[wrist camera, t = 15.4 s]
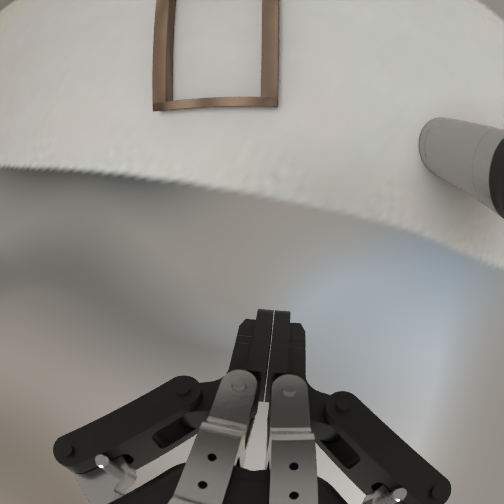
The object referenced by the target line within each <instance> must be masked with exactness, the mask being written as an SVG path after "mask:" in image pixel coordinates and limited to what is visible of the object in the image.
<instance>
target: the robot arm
mask: <svg viewBox="0 0 504 504" xmlns="http://www.w3.org/2000/svg"><path fill="white" fill-rule="evenodd" d="M419 149H420V155H421V158H422V160H423V162H424V164H425V166H426V167H427V168H428V169H429V170H430V171H431V172H432V173H434V174H436V175H438V176H439V177H441V178H443V179H444V180H446V181H448V182H449V183H451V184H453V185H454V186H456V187H458V188H459V189H461V190H463V191H464V192H466V193H467V194H469V195H471V196H472V197H474V198H475V199H477V200H478V201H480V202H481V203H483V204H484V205H486V206H487V207H489V208H490V209H491V210H493V211H494V212H496V213H497V214H498V215H500V216H501V217H502V218H504V130H503V129H498V128H494V127H490V126H485V125H480V124H476V123H470V122H465V121H459V120H454V119H447V118H436V119H433V120H431V121H430V122H428V123H427V124H426V125H425V127H424V128H423V130H422V133H421V135H420V140H419ZM272 323H273V310H264V309H263V310H262V309H258V312H257V318H256V320H251V319H245V320H244V322H243V323H242V324H241V325H240V326H239V330H238V334H237V338H236V343H235V346H234V350H233V354H232V359H231V362H230V367H229V370H228V372H227V374H226V375H225V376H223V377H222V378H221V379H219V380H216V381H212V382H204V383H199V382H198V381H197V380H196V379H194V378H193V377H190V376H178V377H175V378H173V379H171V380H170V381H168V382H166V383H164V384H163V385H161V386H160V387H157V388H156V389H154V390H152V391H150V392H149V393H147V394H145V395H143V396H141V397H139V398H138V399H136V400H134V401H132V402H130V403H128V404H127V405H125V406H123V407H121V408H119V409H117V410H115V411H113V412H111V413H110V414H107V415H105V416H103V417H102V418H100V419H97V420H95V421H93V422H91V423H89V424H87V425H85V426H83V427H81V428H79V429H77V430H75V431H72V432H70V433H68V434H66V435H64V436H62V437H60V438H58V439H57V440H56V442H55V444H54V447H53V453H54V456H55V458H56V460H57V461H58V462H59V463H60V464H62V465H63V466H65V467H66V468H68V469H69V470H70V471H71V472H72V473H73V474H74V476H75V478H76V479H77V481H78V483H79V485H80V487H81V489H82V490H83V492H84V494H85V496H86V497H87V499H88V501H89V502H90V504H348V503H347V502H346V501H345V500H344V499H343V498H342V497H341V496H340V494H339V493H338V492H337V491H336V490H335V489H334V488H333V487H332V486H331V485H330V484H329V483H328V482H326V481H325V480H323V479H322V478H319V477H318V476H317V465H316V447H315V442H316V443H317V444H318V446H319V447H320V448H321V449H322V450H323V451H324V452H325V453H326V454H327V455H328V457H329V458H330V459H331V460H332V461H333V462H334V463H335V464H336V465H337V466H338V467H339V468H340V469H341V470H342V471H343V472H344V473H345V474H346V476H348V478H349V479H350V480H351V481H352V482H353V483H355V485H356V486H357V487H358V488H359V489H361V491H363V493H365V494H366V495H367V496H366V497H365V498H364V500H363V504H444V503H445V502H446V501H447V500H448V498H449V496H450V494H451V484H450V482H449V481H448V479H446V478H445V477H444V476H443V475H442V474H440V473H439V472H438V471H437V470H436V469H435V468H434V467H433V466H431V465H430V464H429V463H428V462H427V461H426V460H425V459H423V458H422V457H421V456H420V455H419V454H417V452H415V451H414V450H413V449H412V448H411V447H410V446H409V445H408V444H407V443H405V442H404V441H403V440H402V439H401V438H400V437H399V436H398V435H397V434H396V433H394V432H393V431H392V430H391V429H390V428H389V427H388V426H387V425H386V424H385V423H383V422H382V421H381V420H380V419H379V418H378V417H377V416H376V415H375V414H374V413H373V412H372V411H371V410H370V409H369V408H367V407H366V406H365V405H364V404H363V403H362V402H361V401H360V400H359V399H358V398H357V397H356V396H354V395H353V394H351V393H349V392H345V391H341V392H340V391H339V392H335V393H333V394H332V395H328V394H325V393H321V392H319V391H316V390H315V389H313V388H312V387H311V386H310V385H309V384H308V382H307V380H306V375H305V372H306V371H305V366H306V364H305V362H306V361H305V360H306V358H305V330H304V329H303V327H302V325H301V324H300V323H290V312H289V311H275V315H274V325H273V333H272ZM271 335H272V342H271ZM270 344H271V351H270ZM269 352H270V360H269ZM268 361H269V368H268ZM267 369H268V378H267V387H266V396H265V402H269V410H268V417H267V443H266V460H265V470H258V471H250V470H247V469H244V468H243V465H244V461H245V455H246V450H247V447H248V443H249V439H250V435H251V431H252V428H253V424H254V420H255V415H256V413H257V409H258V402H259V401H261V402H263V401H264V393H265V384H266V377H267ZM196 434H197V436H196V438H195V441H194V444H193V446H192V449H191V452H190V454H189V457H188V459H187V462H186V463H182V464H179V465H176V466H174V467H172V468H170V469H168V470H167V471H165V472H164V473H162V474H160V475H159V476H157V477H156V478H154V479H152V480H150V481H149V482H147V483H145V484H144V485H142V486H140V487H138V488H136V489H135V490H133V491H131V492H129V493H127V494H126V495H125V492H126V490H127V489H128V488H129V487H131V486H132V485H133V484H134V483H135V481H136V478H137V474H136V470H137V469H138V468H140V467H142V466H144V465H146V464H147V463H149V462H151V461H153V460H155V459H157V458H158V457H160V456H162V455H163V454H165V453H167V452H169V451H170V450H172V449H173V448H175V447H177V446H178V445H180V444H182V443H183V442H185V441H186V440H188V439H189V438H191V437H193V436H194V435H196Z"/></svg>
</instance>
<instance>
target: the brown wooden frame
mask: <svg viewBox="0 0 504 504" xmlns="http://www.w3.org/2000/svg"><path fill="white" fill-rule="evenodd" d="M175 6H176V0H157V1H156V12H155V25H154V42H153V111H164V110H173V109H184V108H198V107H219V106H270V107H278V64H279V0H262V70H261V97H217V98H200V99H187V100H176V101H173V39H174V20H175Z"/></svg>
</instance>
